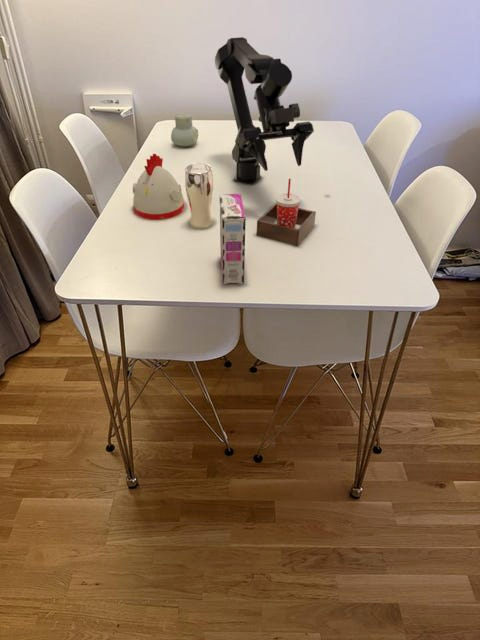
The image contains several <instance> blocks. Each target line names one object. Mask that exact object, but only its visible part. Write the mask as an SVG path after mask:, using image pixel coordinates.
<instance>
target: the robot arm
mask: <svg viewBox="0 0 480 640" xmlns="http://www.w3.org/2000/svg"><path fill="white" fill-rule="evenodd" d="M214 66H215V69H216V70H217V73H218V76H219V78H220V79H221V80H222V81H223V83H225V84H226V86H227V90H228V94H229V98H230V102H231V107H232V111H233V115H234V119H235V123H236V128H237V133H236V137H235V140H234V143H235V144H234V146H233V148H232V150H231V157H232V160H233V161H234V162H235V165H236V168H235V169H236V170H235V171H236V176H235V177H234V178H233V181H235V182H239V183H243V184H247V185H248V184H249V185H254V184H255V183H256V182H258V180H260V179H261V178H262V175H261V167H262V169H263V170H264V172H267V171H268V170H269V168H268V162H267V159H266V156H265V153H266V149H267V144H266V142H265V141H269V140H278V139H285V138H290V139H291V141H292V142H291V147H292V151H293V155H294V158H295V162H296V165H297V166H298V167H301V165H302V162H303V161H302V160H303V150H304V145H305V142H306V141H307V139H308V138H310V136H311V135H312V134H313V133H314V132H315V129H314V125H313V124H312V122H310V121H302V122H296V124H295V125H294V126H293V127H292V128H287V127H289V126H290V124H291V123H294V122H295V119H298V118H300V117H301V109H300V105H299V103H297V102H296V103H291V104H288V107H285V106H284V104H281V100H280V97H282V95H283V94H284V93H285V91H286V90H287V88H288V87H289V85H290V84H291V83H292V79H293V72H292V70H291V69H290V68H289V67H288V66H287V65H286V64H285V63H283V62H282V59H281V58H274V57H273V56H270V55H268V54H261V53H260V52H258V51H257V50H256V49H255V48H254V47H253V46H252V45H251V44H250V43H249V42H248V39H247V38H245V37H243V36H239V37H230V38H228V39H227V41H226V43H225V44H223V45H221V47H219V48H218V49H217V51H216V54H215V56H214ZM243 75H244V76H245V78H246V80H247V82H248V83H249V84H250V85H257V84H259V85H258V86H257V87H256V88H255V90H254V94H253V100H255V101H256V104H257V105H256V106H257V109H258V114H259V117H258V122H259V123H261V127H260V126H256V125H254V122H253V118H252V114H251V110H250V104H249V102H248V97H247V93H246V88H245V84H244V81H243ZM261 128H262V129H261Z"/></svg>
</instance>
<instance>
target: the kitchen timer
mask: <svg viewBox="0 0 480 640" xmlns="http://www.w3.org/2000/svg"><path fill="white" fill-rule="evenodd" d="M163 161H164V159H163V157H161V156H160V155H158V154H157V153H152V155H150V156H149V158H146V165H144V170H143V171H142V172H141V174H140V175H139V177H138V178H137V181H136V182H133V184H132V193H133V199H132V201H133V202H132V203H133V210H134V213H135V215H137V216H138V217H140V218H143V219H145V220H150V221H151V220H152V221H153V220H154V221H160V220H167V219H171V218H174V217H176V216H179V215H180V214H182V213H183V211H184V210H185V199H184V195H183V192H182V185H181V184H180V183H178V181H177V180H176V178H175V177H174V175H172V173H171V172H169V171H168V169H166V168H165V167H163V163H164V162H163Z"/></svg>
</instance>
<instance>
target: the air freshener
mask: <svg viewBox="0 0 480 640" xmlns="http://www.w3.org/2000/svg"><path fill="white" fill-rule="evenodd" d="M174 120H175V121H174V123H175V127H173V128H172V130H171V133H170V140H171V142H172V144H175V145H176V146H178V147H191V146H193V145H196V144H197V142H198V139H199V130H198V129H197V128H196V127H195V126H193V116H192V114H191V113H188V112H180V113H176V114H175V116H174Z"/></svg>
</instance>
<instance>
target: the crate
mask: <svg viewBox="0 0 480 640" xmlns="http://www.w3.org/2000/svg"><path fill="white" fill-rule="evenodd" d="M316 215H317V211H315V210H310V209H306V208H301V207H298V214H297V220H296V224H298V225H300V226H299V227H298V228H295V229H294V228H290V227H286V226H282V225H278V224H277V223H273V222H274V221H275V220H277V203H276V202H274V204H272V205H271V207H269V208H268V209H267V210H266V211H265V212H264V213H263V214H262V215H261V216H260V217H259V218H258V219H257V220H256V236H257V237H262V238H264V239H269V240H273V241H276V242H280V243H284V244H288V245H292V246H296V247H299V246H300V245H301V243H302V242H303V240H305V238H306V237H307V236H308V235H309V234H310V232H311V231H312V230H313V228H314V227H315V224H316V223H315V222H316Z"/></svg>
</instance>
